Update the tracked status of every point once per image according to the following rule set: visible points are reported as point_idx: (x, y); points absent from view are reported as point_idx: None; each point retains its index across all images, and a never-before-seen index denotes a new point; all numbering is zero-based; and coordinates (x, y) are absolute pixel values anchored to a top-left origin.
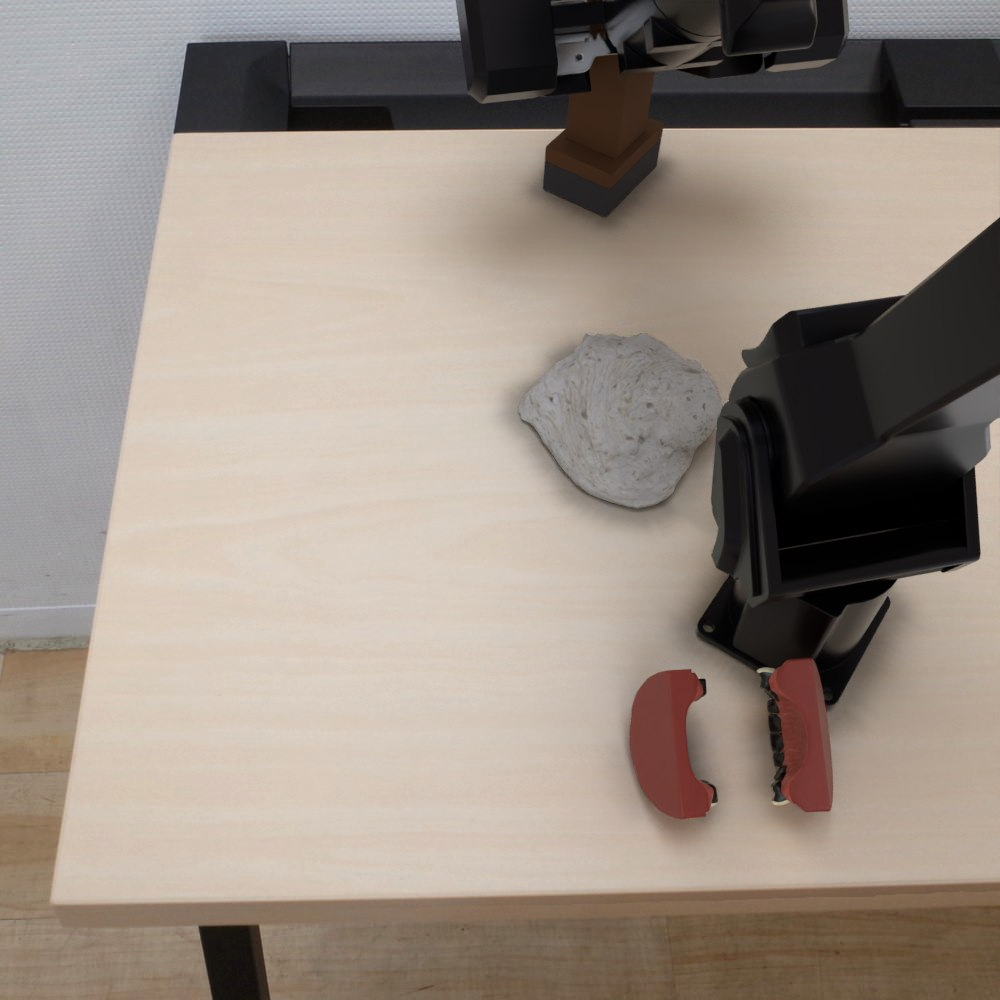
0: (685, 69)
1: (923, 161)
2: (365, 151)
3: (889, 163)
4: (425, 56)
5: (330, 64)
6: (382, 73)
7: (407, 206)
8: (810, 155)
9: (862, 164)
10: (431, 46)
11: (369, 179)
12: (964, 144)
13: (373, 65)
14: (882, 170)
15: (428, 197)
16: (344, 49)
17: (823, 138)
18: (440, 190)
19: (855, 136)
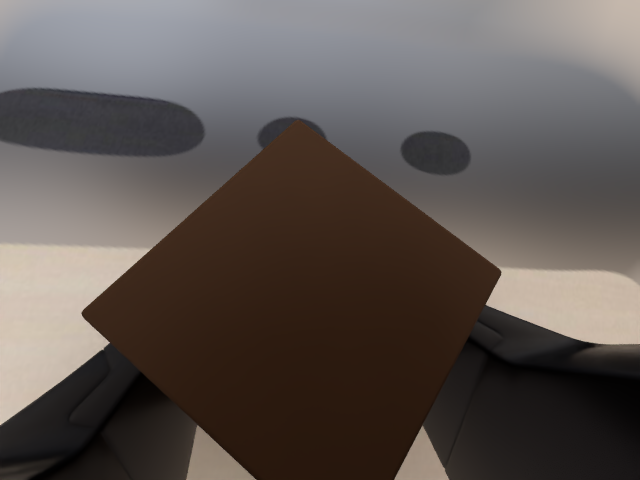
0: (431, 437)
1: (599, 310)
2: (18, 266)
3: (570, 312)
4: (139, 118)
5: (27, 118)
6: (83, 138)
7: (38, 376)
8: (500, 297)
9: (547, 313)
10: (149, 104)
11: (4, 320)
12: (630, 287)
13: (76, 125)
14: (564, 323)
15: (72, 358)
16: (52, 98)
17: (512, 271)
18: (91, 344)
19: (539, 270)
